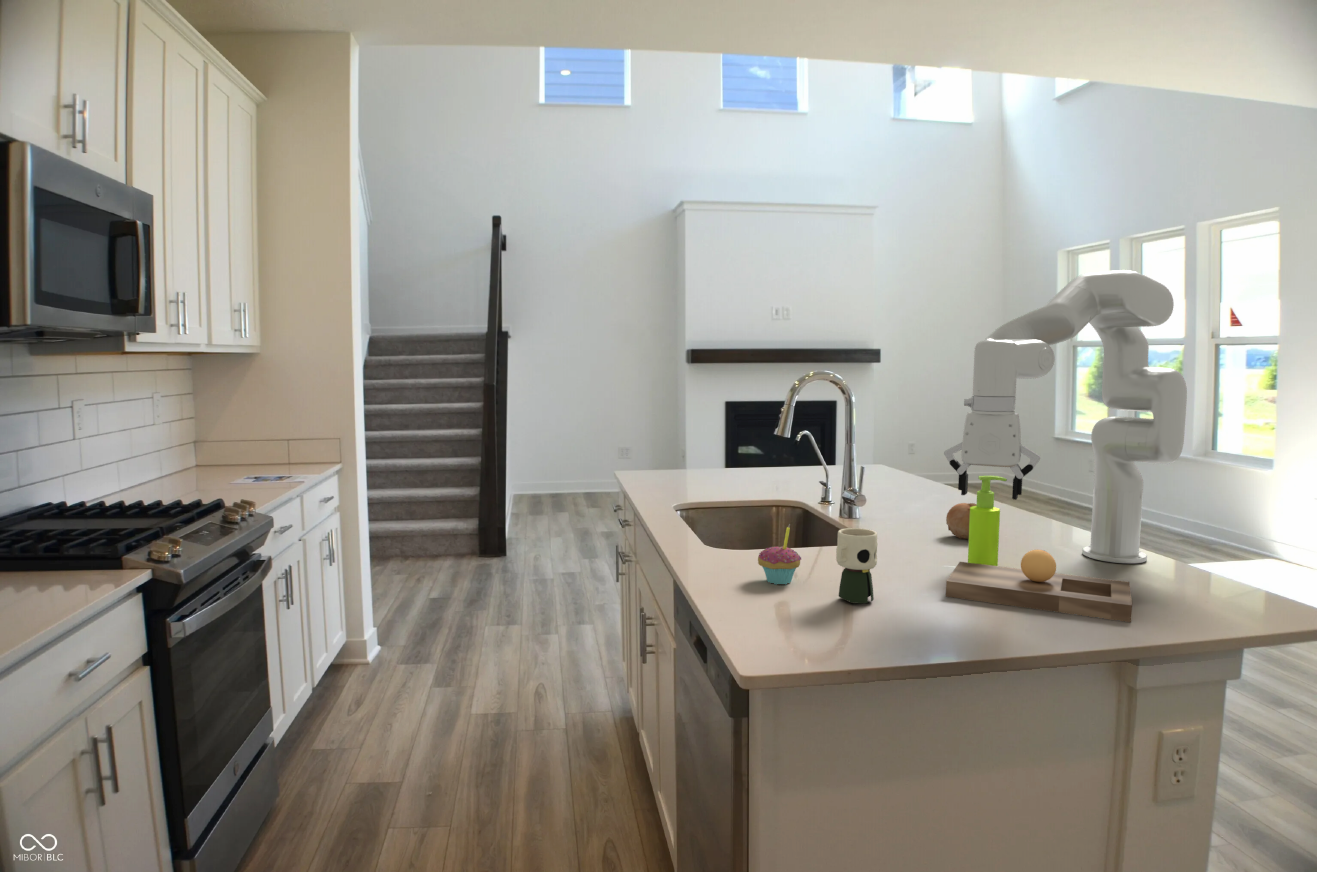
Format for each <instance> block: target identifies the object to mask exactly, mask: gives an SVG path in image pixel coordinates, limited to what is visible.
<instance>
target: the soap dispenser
mask: <svg viewBox="0 0 1317 872" xmlns="http://www.w3.org/2000/svg"><path fill="white" fill-rule="evenodd" d="M977 479H978V480H979V481H981V488H980V489H979V490H977V491H976V503H975V504H976V506H972V507H970V520H969V539H968V545H967V546H968V547H967V548H968V549H967V563H976V564H984V565H992V566H999V564H998V563H999V543H1000V521H1001V520H1000V519H1001V508H998V507H996V506H995V491H993V490H991V481H1002V482H1007V480H1008V479H1007V478H1006V477H1002V476H999V475H978V478H977Z"/></svg>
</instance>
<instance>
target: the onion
mask: <svg viewBox="0 0 1317 872" xmlns="http://www.w3.org/2000/svg"><path fill="white" fill-rule="evenodd" d="M976 504H977V503H976V502H974V503H973V502H972V503H971V502H970V503H969V502H968V503H967V502H960V503H957V504H953V506H952V507H950V509H949V510H948V512H947V513H946V517H945V523H946V525H947V528H948V531H950V532H951V534H952V535H953V536H955V537H956V538H957V539H960V540H969V520H970V507H972V506H976Z"/></svg>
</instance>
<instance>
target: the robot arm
mask: <svg viewBox="0 0 1317 872" xmlns="http://www.w3.org/2000/svg"><path fill="white" fill-rule="evenodd" d="M1174 306H1175V305H1174V298H1173V294H1172V292H1171V291H1170V290H1169V288H1167V287H1166V286H1165V285H1164V284H1162V283H1161V282H1159V281H1157V280H1154V279H1153V278H1150V277H1148V276H1147V275H1145V274H1142V273H1139V272H1137V271H1133V270H1130V269H1129V270H1127V269H1126V270H1125V269H1122V270H1121V269H1120V270H1109V271H1099V272H1098V271H1097V272H1087V273H1083V274H1080V275H1077V276H1076V277H1074V278H1072V279H1071V280H1070V281H1069V282H1068V283H1067V284H1066V285H1065V286H1064V287H1063V288H1061V290H1059V291H1058V292H1057V293H1056V294H1055V295H1054V296H1053V297H1052V298H1051V299H1050V300H1049V301H1048V302H1047V303H1045V304H1044V305H1043V306H1041V307H1039V308H1037V309H1033V310H1032V311H1031V310H1030V311H1029V312H1027V313H1025V314H1023V315H1021V316H1018V317H1016V318H1013V319H1012V320H1009V321H1007V322H1005V323H1004V324H1001V325H1000V326H999V327H997V328H995V330H993V332H991V333H990V334H989V335H988V336H987V337H986V338H985V339H984V340H980V341H978V342H977V343H976V344H975V347H974V351H973V354H974V355H973V375H972V376H973V377H972V379H973V380H972V396H971V397H970V398H969V397H968V398H964V400H963V405H964V406H966V407H969V408H970V409H971V411H969V412H967V413H966V416H965V421H964V426H963V433H962V441H961V442H959V443H958V444H956V445H953V446H952V447H950V448H948V449H946V450H944V451H943V455H944V456H945V458H946V460H947V462H949V465H950V466H951V468H952V469H953V470H955V471H956V473H957V474H958V484H957V485H958V487H957V488H958V489H957V490H958V491H961V492H960V495H961V496H965V495H967V494H968V492H969V491H968V487H969V486H968V484H969V474H968V473H967V471H968V469H969V468H970V467H971V466H983V467H998V468H1010V470H1011V471H1012V472H1013V474H1014V477H1013V479H1012V494H1011V499H1012V500H1017V499H1018V498H1019V497H1018V496H1022V493H1023V492H1022V491H1023V479H1024V477H1026V476H1027V475H1028V474H1029V473H1030V472H1032V471H1033V470H1034V469H1035V467H1036V465H1037V464H1038V463H1039V461H1040V460H1041V459H1042V458H1041V455H1039V454H1038V453H1036V452H1034V451H1033V450H1031V449H1029V448H1028V447H1027V446H1025V445H1024V444H1022V432H1021V429H1022V428H1021V422H1020V415H1019V413H1016V400H1017V399H1016V396H1017V394H1016V391H1017V379H1019V380H1020V379H1021V380H1022V379H1023V380H1032V379H1033V380H1035V379H1039V378H1043V377H1045V376H1046V375H1047V374H1048V373H1050V372H1051V370H1052V369H1053V367H1054V365H1055V360H1056V359H1055V352H1054V350H1053V348H1052V347H1051V346H1053V345H1057V344H1060V343H1063V342H1067V341H1069V340H1071V339H1073V338H1075V337H1076V336H1078V334H1079V333H1080V332H1081V331H1082V330H1083V329H1084V328H1085V327H1086V326H1087V325H1088V324H1090V325H1091V327H1092V328H1094V330H1095V332H1096V333H1097V334H1098V337H1099V339H1100V341H1101V343H1102V348H1103V362H1102V381H1101V397H1102V398H1101V399H1102V402H1103V404H1104V405H1105V407H1107V408H1108V409H1111V410H1117V411H1125V412H1126V411H1127V412H1128V411H1129V412H1141V413H1142V412H1144V413H1152V417H1153V418H1147V417H1134V416H1107V417H1103V418H1101V419H1099V420H1098V421H1097V422H1095V424H1094V425H1093V428H1092V431H1091V435H1090V436H1091V437H1090V438H1091V446H1092V453H1093V461H1094V465H1093V467H1094V472H1093V473H1094V475H1093V493H1092V509H1091V510H1092V511H1091V513H1092V514H1091V530H1090V545H1087V546H1084V547H1083V548H1082V549H1081V551H1082V552H1081V553H1082V555H1084V557H1087V558H1090V559H1093V560H1097V561H1102V562H1107V563H1114V564H1115V563H1118V564H1142V563H1145V562H1146V561H1147V560H1148V555H1147V554H1146V553H1145V552H1143V551H1140V541H1141V526H1142V512H1143V511H1142V510H1143V508H1142V507H1143V498H1144V497H1143V496H1144V480H1143V475H1142V474H1141V471H1140V469H1139V468H1138V466H1137V464H1136V463H1135V462H1137V463H1138V462H1140V463H1147V464H1158V465H1168V464H1172V463H1175V462H1176V461H1177V460H1178V459H1179V458H1180V457H1181V454H1182V452H1183V448H1184V444H1185V443H1184V442H1185V441H1184V440H1185V433H1186V432H1185V431H1186V430H1185V429H1186V416H1187V415H1186V414H1187V399H1188V391H1187V390H1188V389H1187V384H1186V381H1185V378H1184V375H1183V374H1182V373H1181V372H1180V371H1178V370H1177V369H1173V368H1169V367H1150V366H1149V350H1150V349H1149V347H1150V346H1149V342H1148V339H1147V338H1146V336H1145V335H1144V333H1143V331H1142V330H1141V329H1140V328H1142V327H1143V328H1144V327H1146V328H1147V327H1156V326H1160V325H1162V324H1164V323H1166V322H1167V321H1168V320H1169V319H1170V317H1171V316H1172V314H1173V311H1174ZM1139 327H1140V328H1139ZM960 451H961V461H962V463H960V462H959V461H958V459H956V458H955V456H954V455H955V453H958V452H960ZM1022 455H1024V456H1025V457H1027V458H1029V460H1030V461H1028V463H1027V464H1026V465H1025V466H1023V468H1022V467H1021V465H1020V464H1019V463H1020V462H1021V456H1022Z"/></svg>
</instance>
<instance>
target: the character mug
mask: <svg viewBox="0 0 1317 872" xmlns="http://www.w3.org/2000/svg"><path fill="white" fill-rule="evenodd" d="M836 545H837V546H836V555H835V556H836V559H835V560H836V562H837V565H839V566H840V567H842V568H844V569H843V570H842V572H841V576H840V582H839V588H838V589H839V590H838V597H839V598H840V599H842V600H844V601H847V602H849V603H852V604H853V603H854V604H868V603H869V597H870V601H871V602H873V601H874V599H875V597H874V585H873V579H872V578H873V577H872V573H871V570H872V569H874V568H875V567H876V566H877V563H878V556H877V553H878V532H877V531H875V530H872V529H868V528H857V527H852V528H851V527H847V528H841V529H838V531H837V543H836Z"/></svg>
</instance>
